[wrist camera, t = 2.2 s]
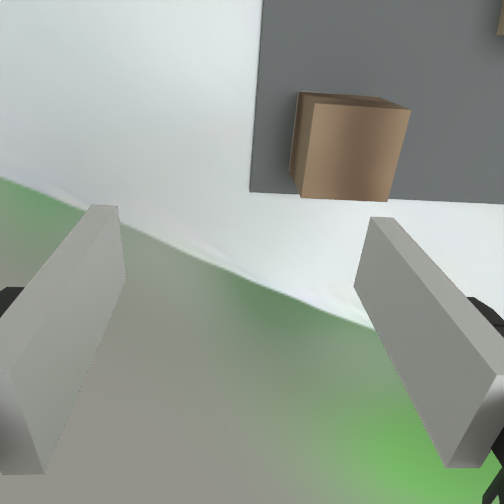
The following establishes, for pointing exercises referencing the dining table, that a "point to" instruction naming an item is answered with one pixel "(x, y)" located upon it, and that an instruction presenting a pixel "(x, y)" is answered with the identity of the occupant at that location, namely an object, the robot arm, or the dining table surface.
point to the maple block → (501, 22)
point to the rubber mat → (391, 87)
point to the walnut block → (346, 146)
